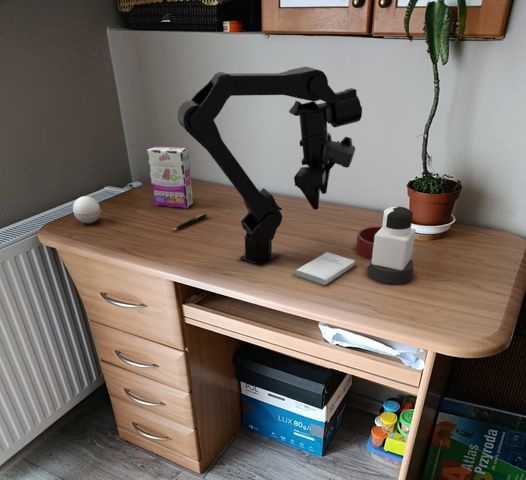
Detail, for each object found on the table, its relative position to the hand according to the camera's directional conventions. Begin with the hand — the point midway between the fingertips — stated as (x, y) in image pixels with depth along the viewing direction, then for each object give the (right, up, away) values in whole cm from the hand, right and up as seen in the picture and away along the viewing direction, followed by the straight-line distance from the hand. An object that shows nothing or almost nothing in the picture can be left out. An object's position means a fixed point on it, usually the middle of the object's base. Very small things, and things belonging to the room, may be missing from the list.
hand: (320, 201), depth 121 cm
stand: (+15, -18, -5) cm, 24 cm away
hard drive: (+1, -17, -3) cm, 17 cm away
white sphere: (-61, 0, +23) cm, 65 cm away
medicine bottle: (+15, -16, -6) cm, 23 cm away
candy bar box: (-41, +9, +35) cm, 54 cm away
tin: (+16, -11, +6) cm, 20 cm away
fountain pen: (-34, 0, +22) cm, 40 cm away
